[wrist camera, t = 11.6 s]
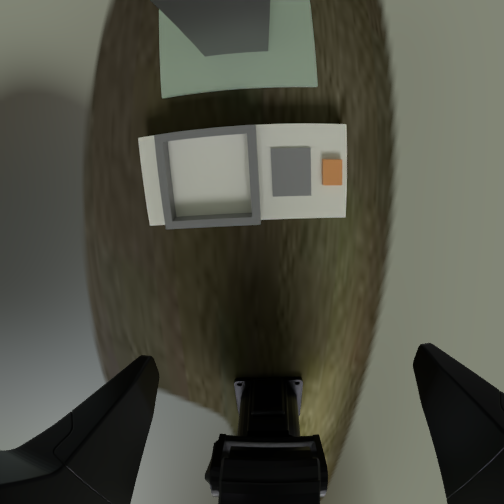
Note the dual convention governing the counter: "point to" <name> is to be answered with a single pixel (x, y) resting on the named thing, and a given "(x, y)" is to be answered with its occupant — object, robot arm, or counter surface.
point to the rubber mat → (242, 57)
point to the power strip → (244, 174)
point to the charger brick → (221, 24)
